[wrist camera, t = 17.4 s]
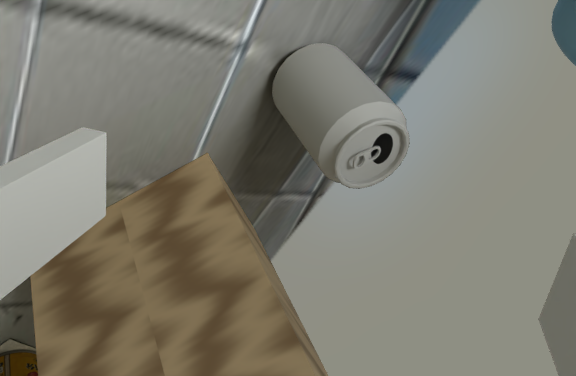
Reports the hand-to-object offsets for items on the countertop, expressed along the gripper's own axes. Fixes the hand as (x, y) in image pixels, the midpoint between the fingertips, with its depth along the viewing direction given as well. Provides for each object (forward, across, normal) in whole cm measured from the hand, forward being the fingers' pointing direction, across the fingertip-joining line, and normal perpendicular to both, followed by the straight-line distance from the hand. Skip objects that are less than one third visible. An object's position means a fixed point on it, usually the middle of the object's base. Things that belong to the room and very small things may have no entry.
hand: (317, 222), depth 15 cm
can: (+34, -6, -3) cm, 34 cm away
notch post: (+29, -18, -20) cm, 40 cm away
